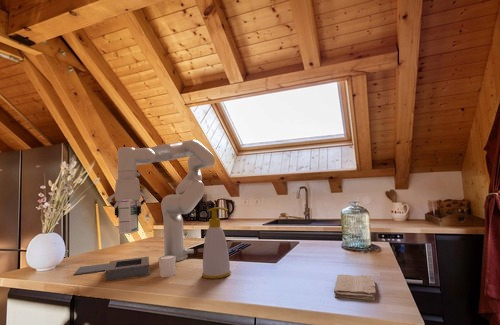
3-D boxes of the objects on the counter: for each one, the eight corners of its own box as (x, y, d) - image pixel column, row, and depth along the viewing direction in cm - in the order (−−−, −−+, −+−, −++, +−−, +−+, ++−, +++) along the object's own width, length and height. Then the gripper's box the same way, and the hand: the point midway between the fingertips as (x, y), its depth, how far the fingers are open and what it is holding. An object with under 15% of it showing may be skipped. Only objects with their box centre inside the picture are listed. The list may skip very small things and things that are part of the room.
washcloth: (333, 300, 84) (333, 289, 84) (337, 280, 101) (336, 271, 101) (377, 304, 80) (376, 292, 80) (373, 282, 97) (372, 273, 97)
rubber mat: (108, 264, 137) (108, 263, 137) (105, 271, 125) (105, 269, 125) (80, 268, 132) (80, 266, 132) (73, 275, 121) (73, 273, 121)
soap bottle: (224, 280, 105) (221, 208, 107) (196, 278, 109) (194, 209, 111) (236, 271, 115) (233, 206, 117) (210, 269, 119) (208, 206, 121)
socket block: (148, 265, 131) (148, 256, 132) (149, 274, 116) (148, 264, 117) (110, 270, 126) (110, 261, 126) (105, 281, 111) (105, 270, 111)
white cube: (179, 272, 117) (179, 255, 118) (169, 278, 111) (169, 259, 111) (165, 272, 119) (165, 254, 120) (155, 277, 113) (154, 259, 114)
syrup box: (130, 233, 119) (130, 198, 121) (118, 233, 121) (117, 199, 122) (138, 231, 125) (137, 198, 126) (126, 231, 126) (126, 198, 127)
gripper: (148, 175, 131) (149, 213, 130) (106, 176, 125) (106, 217, 124) (148, 174, 124) (149, 215, 123) (104, 176, 118) (104, 219, 117)
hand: (128, 216), depth 123 cm, fingers closed on syrup box, 7 cm apart
